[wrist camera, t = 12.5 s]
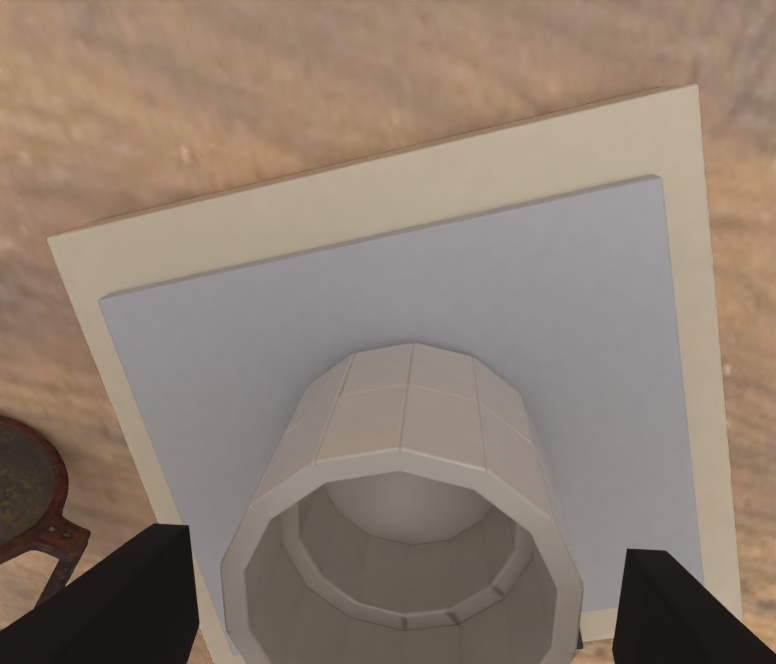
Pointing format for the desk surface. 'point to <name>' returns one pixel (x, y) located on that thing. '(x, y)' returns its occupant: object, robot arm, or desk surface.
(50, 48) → the desk surface
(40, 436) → the eyeglasses
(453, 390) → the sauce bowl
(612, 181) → the scale
